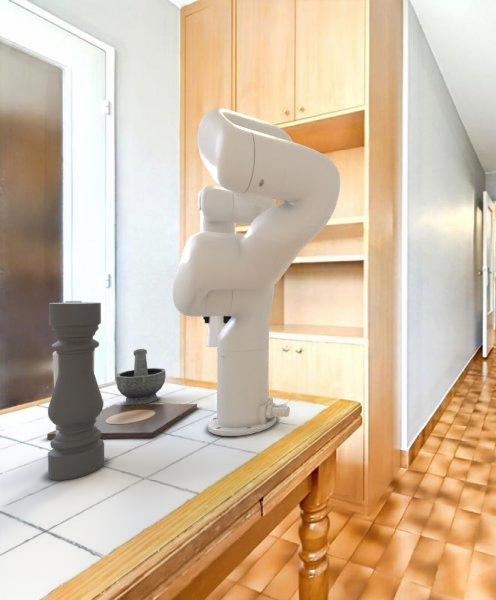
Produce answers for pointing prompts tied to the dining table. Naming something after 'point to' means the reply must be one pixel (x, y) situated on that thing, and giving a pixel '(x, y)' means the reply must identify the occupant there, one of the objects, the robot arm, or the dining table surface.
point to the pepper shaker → (214, 330)
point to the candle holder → (75, 392)
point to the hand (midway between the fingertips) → (218, 322)
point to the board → (137, 419)
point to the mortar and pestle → (140, 381)
